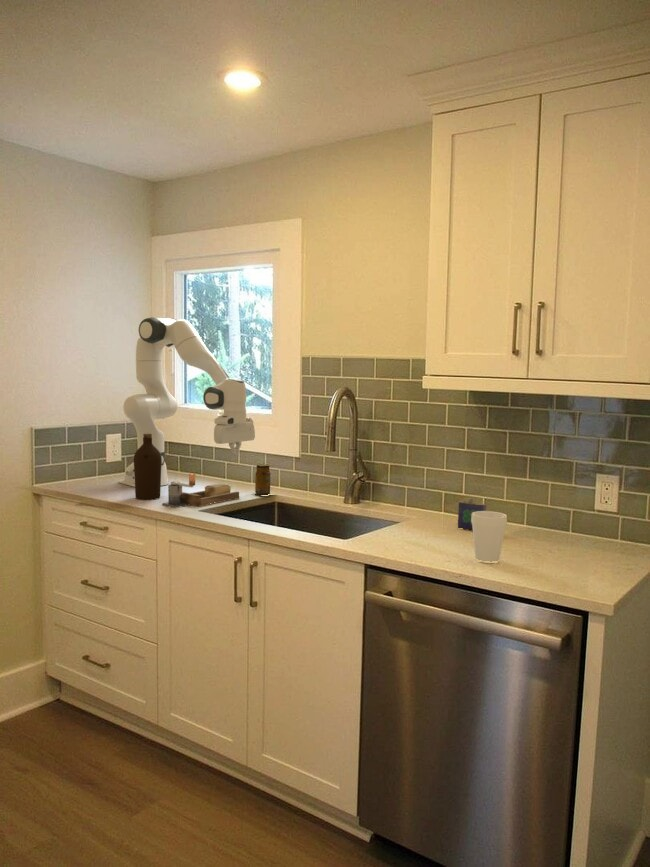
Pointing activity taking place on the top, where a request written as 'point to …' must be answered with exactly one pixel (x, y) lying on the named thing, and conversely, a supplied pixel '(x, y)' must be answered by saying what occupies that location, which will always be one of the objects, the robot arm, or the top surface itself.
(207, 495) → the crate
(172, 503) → the grey cylinder
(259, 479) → the condiment
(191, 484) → the crank
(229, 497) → the bay
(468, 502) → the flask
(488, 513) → the foam cup
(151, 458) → the olive oil
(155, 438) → the robot arm
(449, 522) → the top surface
